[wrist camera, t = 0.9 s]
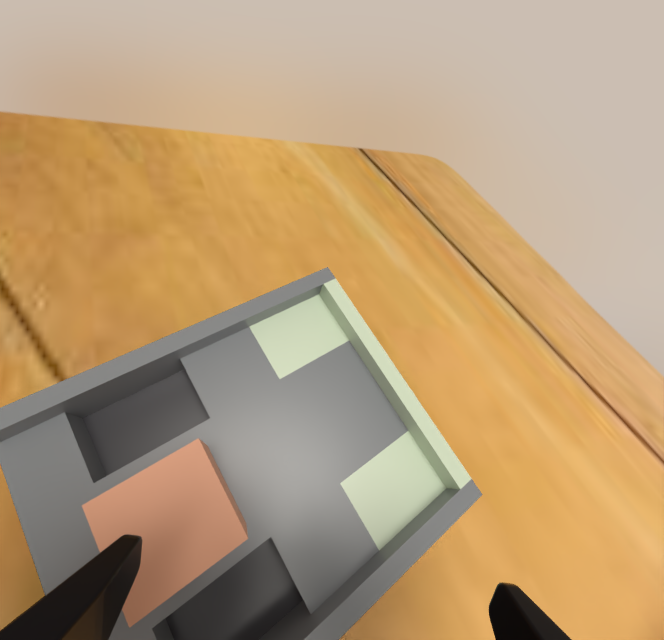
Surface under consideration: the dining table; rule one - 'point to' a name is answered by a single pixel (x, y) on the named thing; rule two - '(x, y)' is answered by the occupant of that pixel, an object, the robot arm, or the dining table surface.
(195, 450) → the block
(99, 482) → the box
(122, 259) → the dining table surface
